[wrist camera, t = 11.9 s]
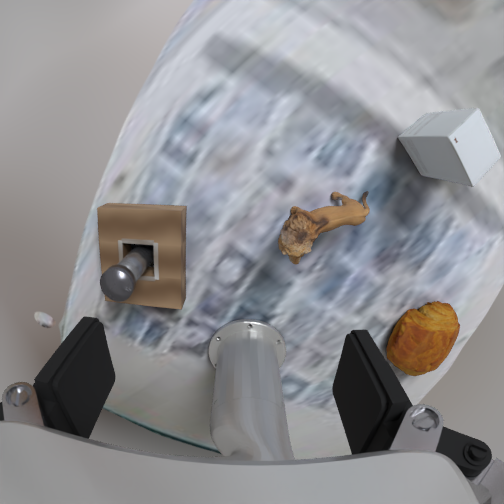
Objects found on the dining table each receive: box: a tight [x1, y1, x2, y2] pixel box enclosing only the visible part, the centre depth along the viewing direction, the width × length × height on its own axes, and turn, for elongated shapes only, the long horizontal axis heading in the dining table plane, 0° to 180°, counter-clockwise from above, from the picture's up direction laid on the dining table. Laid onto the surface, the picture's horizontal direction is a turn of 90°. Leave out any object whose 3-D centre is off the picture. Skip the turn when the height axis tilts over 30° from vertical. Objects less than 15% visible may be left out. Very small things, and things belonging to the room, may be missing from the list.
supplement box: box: [398, 108, 501, 187], centre depth 32 cm, size 7×7×13 cm
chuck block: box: [97, 203, 187, 309], centre depth 41 cm, size 14×12×4 cm
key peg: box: [100, 244, 154, 302], centre depth 37 cm, size 4×4×12 cm
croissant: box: [386, 301, 460, 376], centre depth 46 cm, size 14×16×8 cm
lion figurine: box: [278, 191, 370, 264], centre depth 37 cm, size 15×5×9 cm, turn 117°
